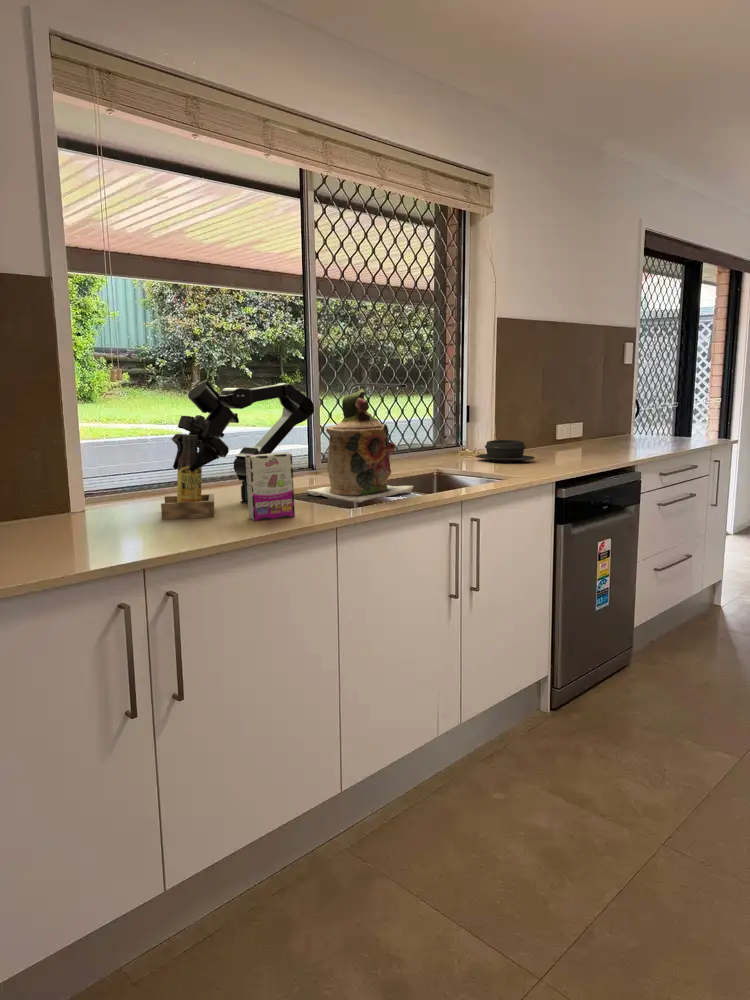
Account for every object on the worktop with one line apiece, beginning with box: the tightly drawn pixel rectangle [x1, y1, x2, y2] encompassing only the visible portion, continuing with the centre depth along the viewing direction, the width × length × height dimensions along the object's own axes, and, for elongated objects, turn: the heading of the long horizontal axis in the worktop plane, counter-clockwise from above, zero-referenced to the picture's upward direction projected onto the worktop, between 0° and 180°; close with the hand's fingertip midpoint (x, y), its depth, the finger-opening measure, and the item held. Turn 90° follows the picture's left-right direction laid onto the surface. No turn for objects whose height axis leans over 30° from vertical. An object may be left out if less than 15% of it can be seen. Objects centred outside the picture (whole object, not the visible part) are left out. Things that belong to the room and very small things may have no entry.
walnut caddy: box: [160, 493, 215, 520], centre depth 187 cm, size 13×13×4 cm
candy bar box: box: [245, 451, 296, 522], centre depth 179 cm, size 11×5×16 cm, turn 118°
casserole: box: [475, 439, 536, 464], centre depth 293 cm, size 25×19×8 cm
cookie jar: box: [306, 388, 414, 503], centre depth 214 cm, size 25×25×32 cm
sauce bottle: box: [176, 434, 203, 503], centre depth 186 cm, size 6×6×20 cm
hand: (182, 469), depth 185 cm, fingers open, 7 cm apart
